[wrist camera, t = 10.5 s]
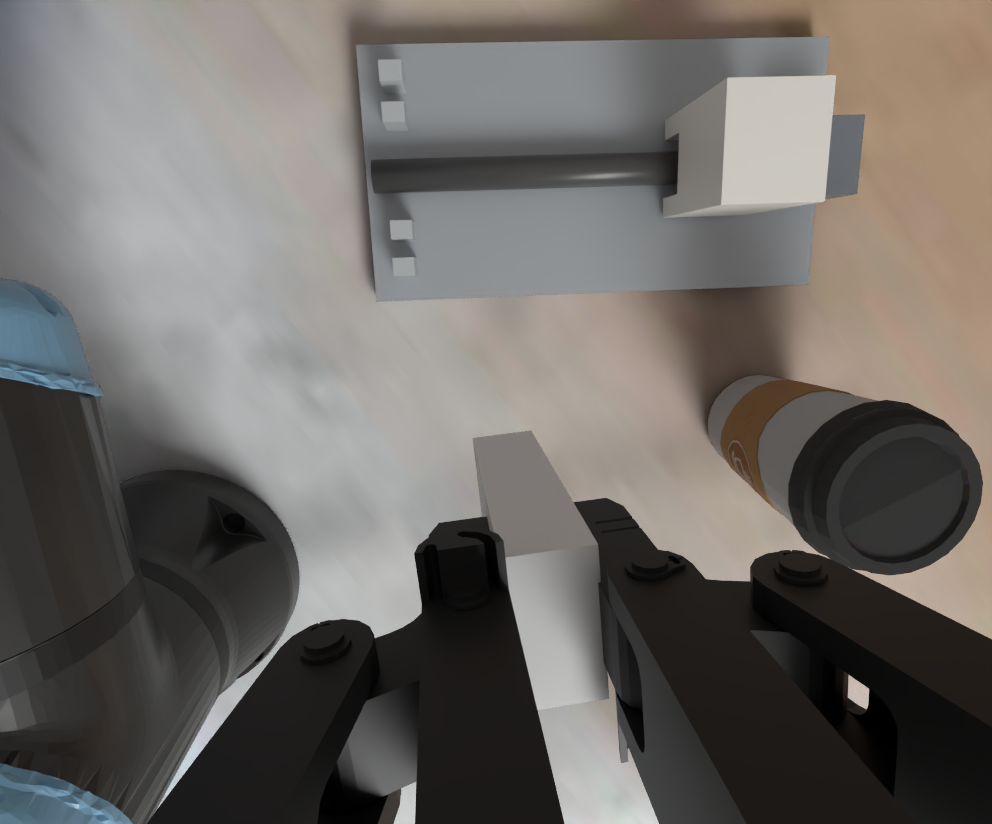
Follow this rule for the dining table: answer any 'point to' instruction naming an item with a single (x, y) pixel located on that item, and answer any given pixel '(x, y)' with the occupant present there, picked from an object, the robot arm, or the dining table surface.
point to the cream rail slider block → (752, 146)
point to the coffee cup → (850, 470)
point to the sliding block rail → (567, 168)
